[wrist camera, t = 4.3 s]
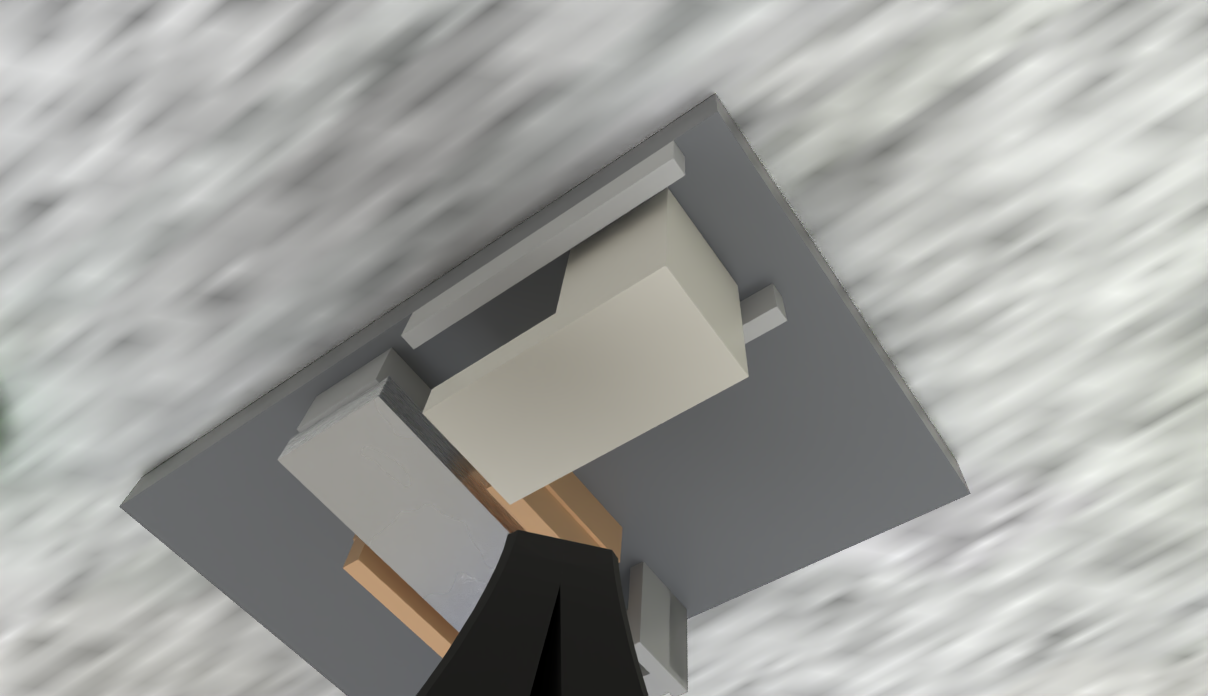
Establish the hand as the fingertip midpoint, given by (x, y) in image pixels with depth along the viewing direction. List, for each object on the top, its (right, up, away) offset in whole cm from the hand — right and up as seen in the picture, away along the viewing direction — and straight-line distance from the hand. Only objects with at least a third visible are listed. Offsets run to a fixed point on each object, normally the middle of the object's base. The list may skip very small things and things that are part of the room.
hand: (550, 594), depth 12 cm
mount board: (-1, 0, +12) cm, 12 cm away
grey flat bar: (-2, -1, +10) cm, 10 cm away
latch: (0, +4, +8) cm, 9 cm away
